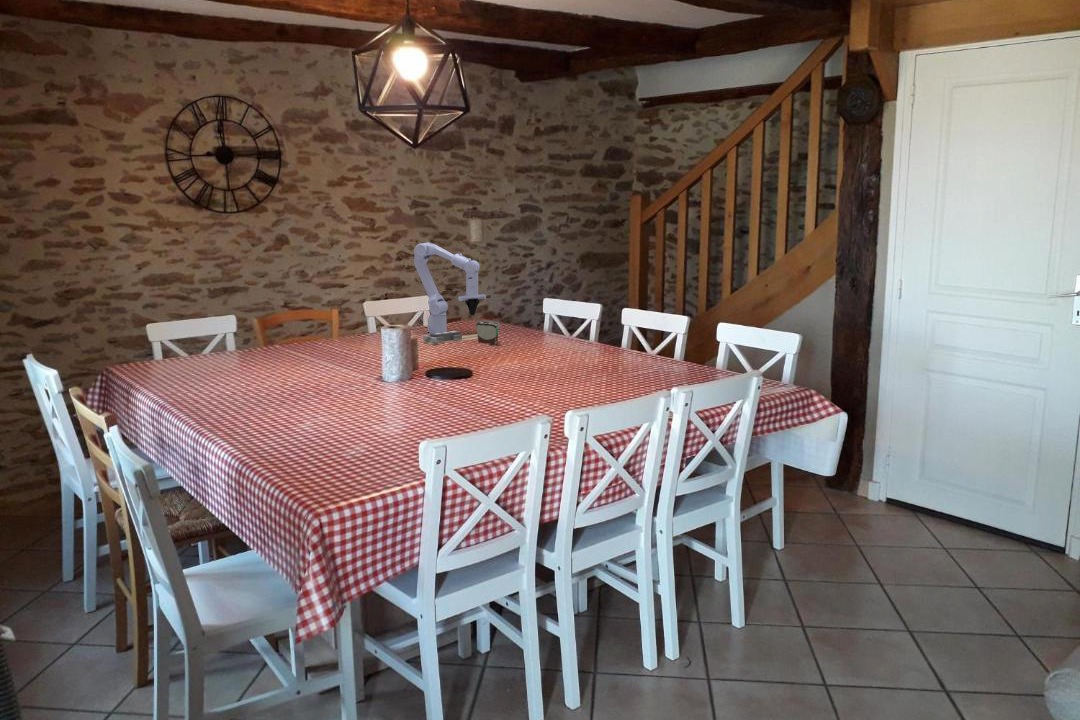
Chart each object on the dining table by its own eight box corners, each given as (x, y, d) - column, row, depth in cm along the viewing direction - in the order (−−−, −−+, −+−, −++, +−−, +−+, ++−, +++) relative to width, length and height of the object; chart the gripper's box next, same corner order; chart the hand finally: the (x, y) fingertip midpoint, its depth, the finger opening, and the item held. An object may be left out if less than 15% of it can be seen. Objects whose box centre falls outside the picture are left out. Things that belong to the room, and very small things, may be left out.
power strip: (430, 341, 382) (429, 333, 381) (455, 337, 390) (455, 330, 390) (435, 342, 378) (435, 334, 378) (461, 339, 387) (461, 331, 386)
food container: (505, 343, 380) (505, 322, 378) (497, 346, 375) (497, 324, 373) (483, 341, 386) (483, 319, 384) (475, 343, 381) (475, 321, 379)
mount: (421, 342, 382) (420, 335, 381) (480, 334, 402) (480, 328, 402) (432, 345, 374) (432, 338, 374) (492, 337, 395) (492, 331, 394)
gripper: (464, 288, 388) (464, 317, 391) (489, 286, 397) (489, 314, 400) (455, 286, 394) (456, 315, 396) (481, 284, 402) (481, 312, 405)
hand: (472, 314), depth 398 cm, fingers closed
